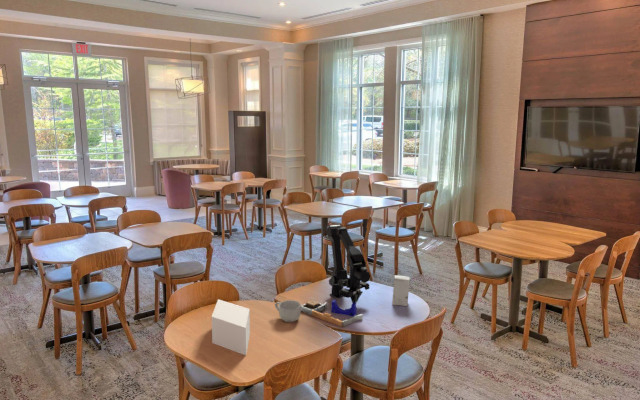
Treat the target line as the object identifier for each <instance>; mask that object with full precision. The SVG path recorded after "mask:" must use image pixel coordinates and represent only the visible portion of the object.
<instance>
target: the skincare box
mask: <svg viewBox="0 0 640 400" xmlns="http://www.w3.org/2000/svg"><path fill="white" fill-rule="evenodd" d="M410 278H411V277H410V276H408V275H407V276H406V275H398V274H397V275H396V274H395V275H394V277H393V290H392V305H393V306H403V307H408V303H409V292H410V280H411V279H410Z"/></svg>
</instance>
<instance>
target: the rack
mask: <svg viewBox="0 0 640 400" xmlns="http://www.w3.org/2000/svg"><path fill="white" fill-rule="evenodd" d="M327 307H328V301H325V302H324V303H323V304H322V303H321V302H317V301H315V300H309V301H306V302H305V303H304V304H301V313H305V314H307V315H310V316H313V317H315V318H318V319H320V320H323V321H325V322H328V323H331V324H333V325H337V326H339V327H341V328H344V327H346V326H349V325H350V324H352V323H354V322H358V321H363V314H356V315H355V316H351V317H350V316H349V318H346V319H345V320H340V319H338V318H335V317H333V316H332V313H328V312H323V311H325V310H326V309H327ZM321 312H323V313H321Z"/></svg>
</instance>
